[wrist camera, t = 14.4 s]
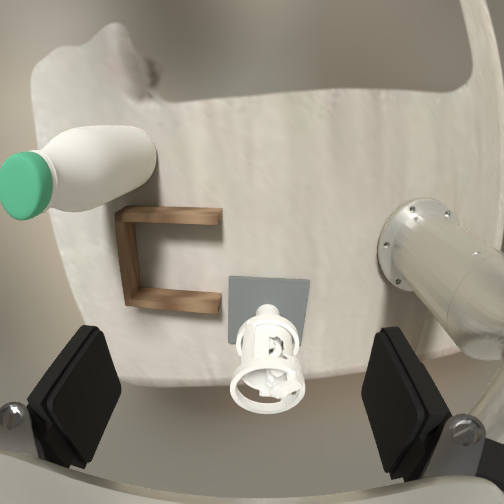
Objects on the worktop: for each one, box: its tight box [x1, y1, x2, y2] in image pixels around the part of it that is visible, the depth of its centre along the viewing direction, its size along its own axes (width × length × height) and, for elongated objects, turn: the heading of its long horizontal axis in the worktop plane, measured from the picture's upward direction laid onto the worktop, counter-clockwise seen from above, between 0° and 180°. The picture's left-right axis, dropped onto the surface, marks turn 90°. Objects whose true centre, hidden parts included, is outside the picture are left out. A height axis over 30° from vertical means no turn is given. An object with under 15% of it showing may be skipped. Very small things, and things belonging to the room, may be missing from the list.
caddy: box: [115, 206, 222, 314], centre depth 37 cm, size 12×12×4 cm
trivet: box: [228, 276, 310, 346], centre depth 41 cm, size 10×10×1 cm
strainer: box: [230, 304, 305, 414], centre depth 34 cm, size 7×7×15 cm
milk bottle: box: [0, 126, 157, 220], centre depth 25 cm, size 8×8×20 cm
